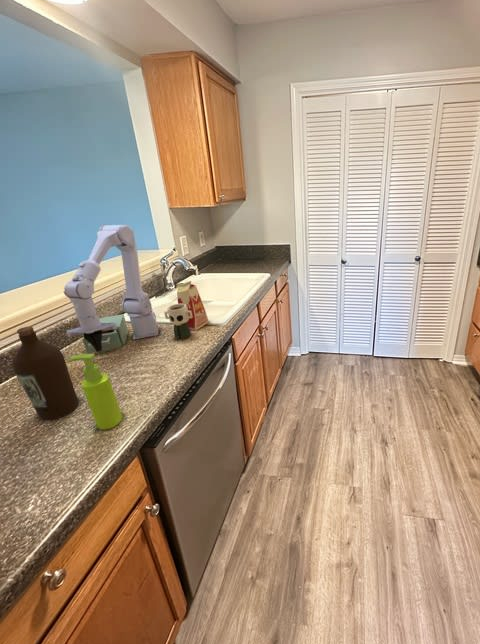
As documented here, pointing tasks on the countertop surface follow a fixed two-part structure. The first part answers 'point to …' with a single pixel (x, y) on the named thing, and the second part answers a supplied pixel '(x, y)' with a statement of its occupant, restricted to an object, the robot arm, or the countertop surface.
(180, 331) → the character mug
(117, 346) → the drawer
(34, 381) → the olive oil
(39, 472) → the countertop surface
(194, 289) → the milk carton
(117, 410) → the soap dispenser
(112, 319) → the green box
